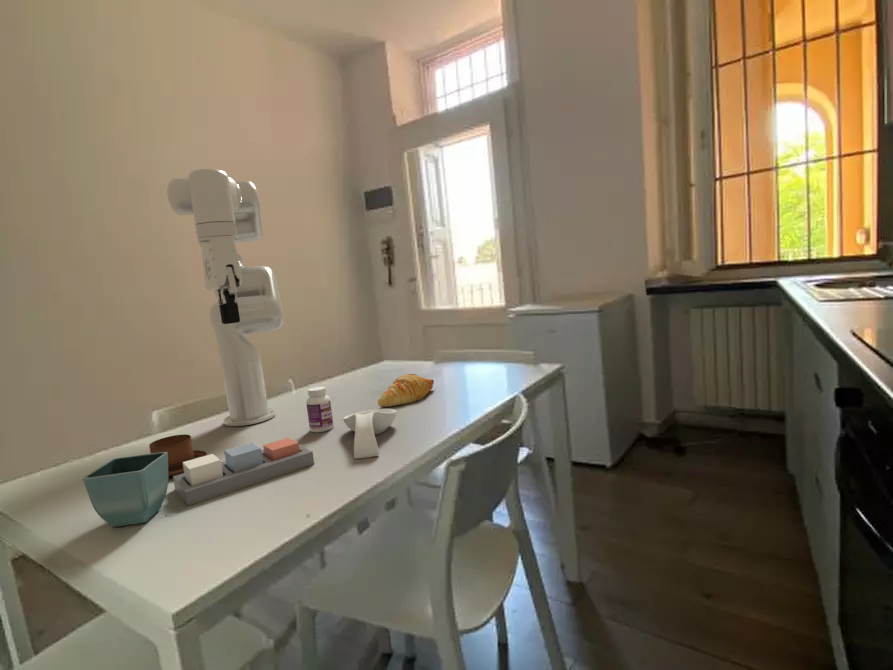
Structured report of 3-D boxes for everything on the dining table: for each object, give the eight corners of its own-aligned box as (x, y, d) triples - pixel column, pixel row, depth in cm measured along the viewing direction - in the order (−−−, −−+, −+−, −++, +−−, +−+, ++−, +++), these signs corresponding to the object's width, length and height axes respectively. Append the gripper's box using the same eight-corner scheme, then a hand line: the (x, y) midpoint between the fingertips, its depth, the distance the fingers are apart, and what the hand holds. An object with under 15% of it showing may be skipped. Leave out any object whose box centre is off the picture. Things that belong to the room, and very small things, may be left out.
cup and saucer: (145, 468, 107) (139, 439, 106) (209, 454, 111) (204, 426, 110) (136, 489, 96) (130, 456, 95) (208, 472, 100) (203, 441, 99)
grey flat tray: (175, 489, 93) (172, 476, 93) (293, 452, 106) (291, 441, 106) (188, 505, 85) (185, 491, 85) (314, 463, 99) (312, 451, 98)
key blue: (226, 466, 96) (224, 450, 96) (254, 457, 99) (251, 442, 99) (235, 472, 92) (232, 456, 92) (263, 464, 95) (260, 448, 95)
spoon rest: (347, 426, 122) (343, 396, 121) (398, 420, 123) (394, 390, 122) (337, 463, 98) (332, 426, 97) (399, 455, 99) (395, 418, 98)
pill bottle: (327, 432, 118) (322, 390, 116) (306, 433, 119) (300, 392, 118) (337, 425, 123) (332, 385, 122) (316, 425, 124) (311, 386, 123)
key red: (265, 460, 100) (263, 445, 100) (290, 452, 103) (288, 437, 103) (274, 466, 96) (272, 450, 96) (300, 457, 99) (298, 442, 99)
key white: (185, 478, 92) (182, 462, 91) (215, 469, 95) (212, 453, 94) (192, 486, 88) (189, 469, 87) (223, 476, 91) (220, 459, 90)
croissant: (389, 424, 132) (396, 398, 128) (362, 403, 136) (368, 377, 133) (441, 400, 148) (448, 376, 145) (415, 382, 153) (422, 359, 150)
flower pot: (123, 509, 87) (113, 457, 85) (177, 502, 87) (168, 450, 86) (91, 536, 78) (80, 478, 77) (153, 528, 78) (142, 470, 77)
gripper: (188, 238, 110) (202, 324, 112) (207, 229, 98) (222, 326, 100) (225, 236, 114) (238, 319, 117) (247, 228, 103) (261, 321, 105)
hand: (231, 322), depth 108 cm, fingers closed
